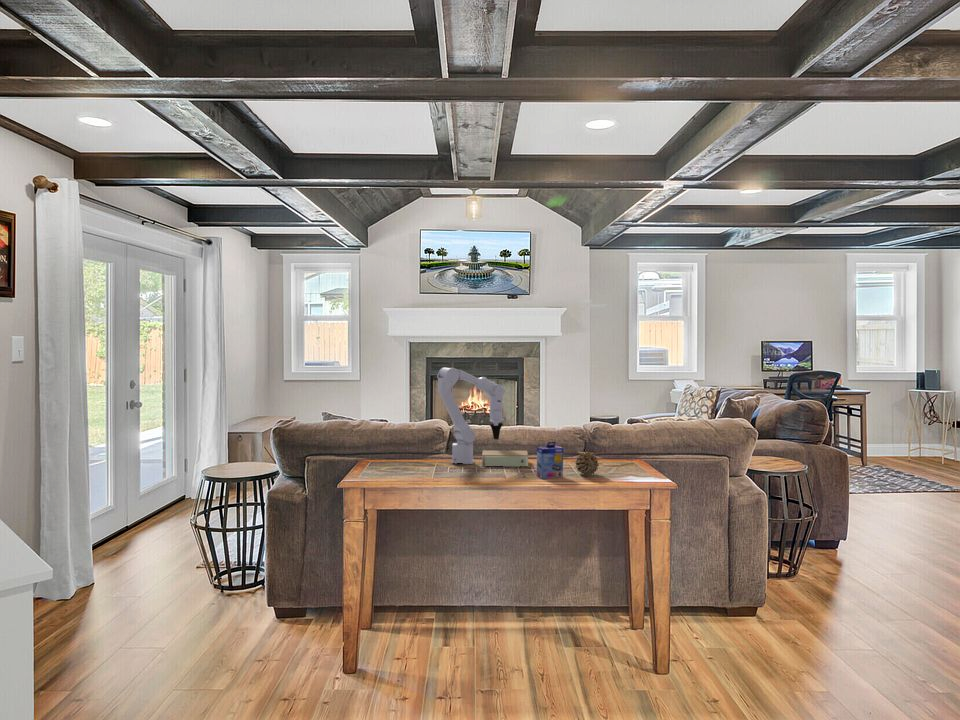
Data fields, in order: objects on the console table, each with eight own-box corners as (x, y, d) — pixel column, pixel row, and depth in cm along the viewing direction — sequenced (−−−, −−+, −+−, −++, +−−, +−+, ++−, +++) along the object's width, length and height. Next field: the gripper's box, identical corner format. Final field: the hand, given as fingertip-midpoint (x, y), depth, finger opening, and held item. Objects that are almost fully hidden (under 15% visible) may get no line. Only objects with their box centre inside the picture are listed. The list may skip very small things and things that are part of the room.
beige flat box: (482, 466, 290) (482, 455, 289) (482, 461, 302) (482, 450, 301) (527, 466, 289) (527, 455, 289) (527, 461, 301) (526, 450, 301)
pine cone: (602, 479, 263) (602, 454, 263) (578, 479, 263) (578, 454, 262) (591, 468, 285) (591, 445, 285) (568, 468, 285) (568, 445, 284)
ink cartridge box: (542, 479, 263) (542, 443, 262) (535, 476, 268) (535, 441, 268) (563, 477, 267) (564, 441, 266) (557, 474, 272) (557, 439, 271)
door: (483, 466, 288) (482, 457, 287) (483, 465, 289) (483, 456, 289) (525, 466, 287) (525, 457, 287) (525, 466, 289) (525, 456, 289)
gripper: (504, 411, 298) (504, 441, 298) (504, 408, 312) (504, 436, 313) (489, 411, 298) (489, 441, 299) (489, 408, 313) (489, 436, 313)
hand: (496, 439), depth 306 cm, fingers closed
